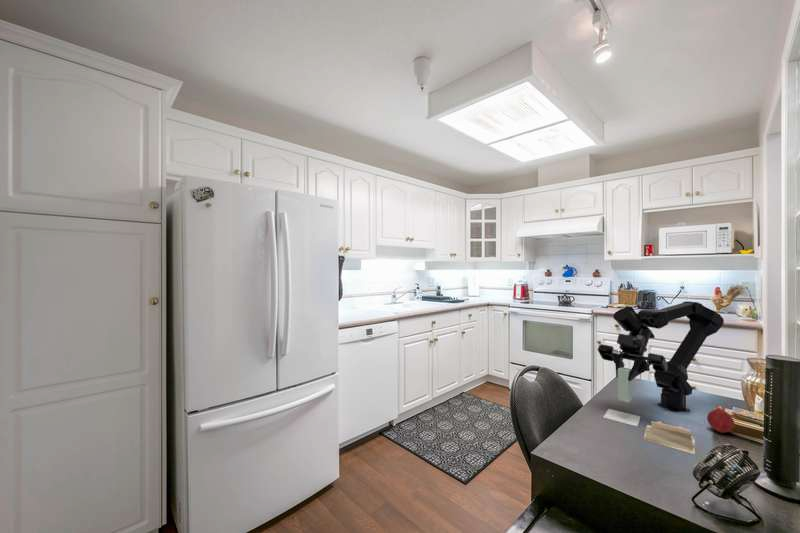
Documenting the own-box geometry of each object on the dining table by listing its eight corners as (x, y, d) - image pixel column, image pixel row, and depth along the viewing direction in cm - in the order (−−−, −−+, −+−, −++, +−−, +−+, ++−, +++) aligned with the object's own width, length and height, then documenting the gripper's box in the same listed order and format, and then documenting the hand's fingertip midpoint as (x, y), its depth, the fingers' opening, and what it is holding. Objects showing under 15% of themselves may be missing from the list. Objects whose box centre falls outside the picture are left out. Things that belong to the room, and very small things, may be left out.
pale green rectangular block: (621, 397, 110) (621, 367, 110) (631, 400, 108) (632, 369, 108) (617, 399, 108) (617, 368, 108) (627, 402, 106) (628, 371, 106)
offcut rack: (647, 426, 104) (647, 410, 104) (694, 438, 96) (694, 422, 96) (643, 441, 94) (643, 424, 95) (694, 456, 87) (695, 437, 87)
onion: (739, 439, 96) (739, 411, 96) (716, 437, 98) (716, 409, 98) (724, 429, 102) (724, 403, 102) (702, 427, 103) (702, 401, 103)
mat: (608, 410, 115) (608, 408, 115) (640, 418, 109) (640, 416, 109) (603, 419, 108) (603, 417, 108) (637, 428, 102) (637, 426, 102)
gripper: (600, 321, 118) (584, 357, 112) (665, 329, 103) (650, 371, 96) (610, 340, 123) (595, 376, 116) (673, 351, 107) (660, 393, 101)
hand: (622, 378), depth 107 cm, fingers closed on pale green rectangular block, 3 cm apart
